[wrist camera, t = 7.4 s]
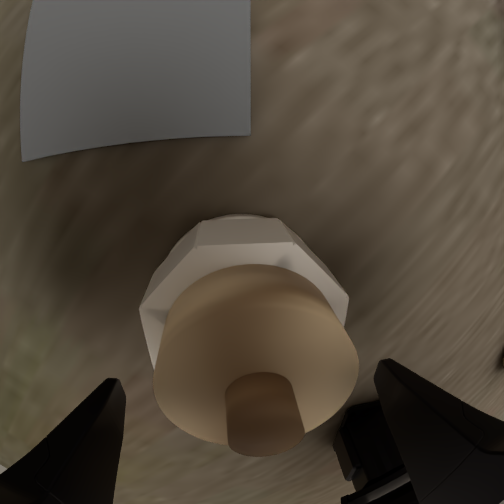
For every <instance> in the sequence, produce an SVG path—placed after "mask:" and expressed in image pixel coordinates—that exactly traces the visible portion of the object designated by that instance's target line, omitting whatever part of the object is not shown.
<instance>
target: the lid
mask: <svg viewBox="0 0 504 504" xmlns="http://www.w3.org/2000/svg"><path fill="white" fill-rule="evenodd" d="M358 373H359V360H358V354H357V351H356V349H355V346H354V344H353V343H352V341H351V339H350V338H349V336H348V334H347V333H346V331H345V329H344V328H343V326H342V324H341V323H340V321H339V319H338V318H337V316H336V314H335V313H334V311H333V309H332V308H331V306H330V304H329V303H328V301H327V299H326V298H325V296H324V295H323V293H322V292H321V291H320V290H319V289H318V288H317V287H316V286H315V285H314V284H313V283H312V282H311V281H309V280H308V279H307V278H305V277H303V276H301V275H300V274H298V273H296V272H293V271H291V270H288V269H286V268H282V267H278V266H273V265H265V264H245V265H236V266H232V267H227V268H223V269H220V270H218V271H215V272H212V273H210V274H208V275H206V276H204V277H202V278H200V279H198V280H197V281H196V282H194V283H193V284H191V285H190V286H189V287H188V288H187V289H185V290H184V291H183V292H182V293H181V294H180V295H179V297H178V298H177V299H176V300H175V302H174V303H173V305H172V307H171V308H170V310H169V312H168V315H167V318H166V321H165V325H164V329H163V334H162V338H161V342H160V347H159V351H158V356H157V361H156V365H155V370H154V376H153V391H154V395H155V399H156V401H157V403H158V405H159V407H160V409H161V410H162V412H163V413H164V415H165V416H166V417H167V418H168V419H169V420H170V421H171V422H172V423H174V424H175V425H176V426H177V427H179V428H180V429H182V430H183V431H185V432H187V433H189V434H191V435H193V436H195V437H197V438H200V439H202V440H205V441H209V442H212V443H217V444H222V445H229V447H230V448H231V449H232V450H234V451H235V452H237V453H239V454H242V455H246V456H254V457H262V456H271V455H276V454H279V453H282V452H285V451H287V450H289V449H291V448H293V447H295V446H296V445H297V444H298V443H300V442H301V440H302V439H303V437H304V435H305V433H307V432H309V431H311V430H313V429H314V428H316V427H318V426H319V425H321V424H322V423H324V422H325V421H327V420H328V419H329V418H331V417H332V416H333V415H334V414H335V413H336V412H337V411H338V410H339V409H340V408H341V407H342V406H343V405H344V403H345V402H346V401H347V399H348V398H349V397H350V395H351V393H352V391H353V389H354V387H355V384H356V382H357V378H358Z"/></svg>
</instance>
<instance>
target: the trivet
mask: <svg viewBox="0 0 504 504" xmlns="http://www.w3.org/2000/svg"><path fill="white" fill-rule="evenodd" d="M20 135H21V154H22V162H25V161H29V160H34V159H38V158H43V157H47V156H52V155H57V154H62V153H67V152H73V151H78V150H84V149H90V148H96V147H103V146H110V145H117V144H125V143H134V142H143V141H152V140H163V139H176V138H191V137H211V136H251V62H250V0H33V2H32V7H31V11H30V16H29V22H28V27H27V33H26V40H25V47H24V55H23V64H22V76H21V95H20Z"/></svg>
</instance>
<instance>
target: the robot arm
mask: <svg viewBox="0 0 504 504" xmlns="http://www.w3.org/2000/svg"><path fill="white" fill-rule="evenodd" d="M374 383H375V386H376V389H377V393H378V396H379V399H380V401H377V402H373V403H369V404H364V405H360V406H356V407H352V408H350V409H348V410H347V412H346V414H345V417H344V420H343V422H342V425H341V428H340V429H339V431H338V433H337V436H336V438H335V441H334V444H333V449H334V451H335V452H336V454H337V457H338V460H339V463H340V466H341V469H342V472H343V475H344V478H345V480H347V481H351V480H352V482H353V485H354V488H355V490H356V492H355V493H352V494H350V495H346V496H343V497H341V504H504V421H501V420H499V419H497V418H495V417H492V416H490V415H488V414H486V413H484V412H482V411H480V410H478V409H476V408H474V407H472V406H470V405H469V404H467V403H465V402H463V401H461V400H460V399H458V398H456V397H455V396H453V395H451V394H450V393H448V392H446V391H445V390H443V389H441V388H439V387H438V386H436V385H434V384H433V383H431V382H429V381H428V380H426V379H424V378H423V377H421V376H419V375H418V374H416V373H414V372H412V371H411V370H409V369H407V368H406V367H404V366H402V365H401V364H399V363H398V362H396V361H394V360H393V359H390V358H388V359H383V360H380V361H379V363H378V366H377V369H376V372H375V375H374ZM125 406H126V395H125V392H124V390H123V387H122V385H121V382H120V380H119V379H117V378H107V379H105V380H104V381H103V382H102V383H101V384H100V385H99V386H98V387H97V388H96V389H95V390H94V391H93V392H92V393H91V394H90V395H89V396H88V397H87V398H86V399H85V400H83V401H82V402H81V403H80V404H79V405H78V406H77V407H76V408H75V409H74V410H73V411H72V412H71V413H70V414H69V415H68V416H67V417H66V418H65V419H64V420H63V421H62V422H61V423H60V424H59V425H57V426H56V427H55V428H54V429H53V430H52V431H51V432H50V433H49V434H48V435H47V438H46V437H45V438H44V439H43V440H42V441H41V442H40V443H39V444H38V445H37V446H35V447H34V448H33V449H32V450H31V451H30V452H29V453H27V454H26V455H25V456H24V457H23V458H21V459H20V460H19V461H17V462H16V463H15V464H13V465H12V466H11V467H9V468H8V469H7V470H6V471H4V472H3V473H2V474H0V504H113V498H114V490H115V483H116V477H117V470H118V464H119V458H120V452H121V447H122V441H123V432H124V418H125Z"/></svg>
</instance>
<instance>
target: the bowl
mask: <svg viewBox="0 0 504 504" xmlns="http://www.w3.org/2000/svg"><path fill="white" fill-rule="evenodd" d="M245 264H265V265H273V266H278V267H282V268H286V269H288V270H291V271H293V272H296V273H298V274H300V275H301V276H303V277H305V278H307V279H308V280H309V281H311V282H312V283H313V284H314V285H315V286H316V287H317V288H318V289H319V290H320V291H321V292H322V293H323V295H324V296H325V298H326V299H327V301H328V303H329V304H330V306H331V308H332V309H333V311H334V313H335V314H336V316H337V318H338V319H339V321H340V323H341V324H342V326H343V328H344V325H345V319H346V314H347V308H348V302H349V297H348V295H347V293H346V292H345V290H344V289H343V288H342V286H341V285H340V284H339V282H338V281H337V280H336V278H335V277H334V276H333V274H332V273H331V272H330V270H329V269H328V268H327V266H326V265H325V264H324V263H323V262H322V261H321V260H320V259H319V258H318V257H317V256H316V255H315V254H314V253H313V252H312V251H311V250H310V249H309V248H308V247H307V245H306V244H305V243H304V242H303V241H302V239H301V238H300V237H299V236H298V235H297V234H296V233H294V232H293V231H292V230H291V229H289V228H288V227H287V226H286V225H285V224H284V223H283V222H282V221H281V220H280V219H279V220H278V218H267V217H263V216H259V215H253V214H230V215H224V216H220V217H215V218H213V219H210V220H203V221H202V222H199V223H198V224H197V225H196V226H195V227H194V228H193V229H191V230H190V231H188V232H187V233H186V234H185V235H184V236H183V237H182V238H180V239H179V240H178V242H177V243H176V244H175V245H174V247H173V248H172V249H171V251H170V253H169V255H168V256H167V258H166V259H165V260H164V261H163V262H162V264H161V265H160V266H159V267H158V268H157V269H156V270H155V272H154V273H153V276H152V278H151V280H150V283H149V285H148V287H147V290H146V292H145V295H144V297H143V299H142V302H141V304H140V308H139V312H140V317H141V321H142V326H143V330H144V334H145V338H146V342H147V346H148V350H149V354H150V357H151V361H152V365H153V368H154V370H155V365H156V361H157V356H158V351H159V347H160V342H161V338H162V334H163V329H164V325H165V321H166V318H167V315H168V312H169V310H170V308H171V307H172V305H173V303H174V302H175V300H176V299H177V298H178V297H179V295H180V294H181V293H182V292H183V291H184V290H185V289H187V288H188V287H189V286H190V285H191V284H193V283H194V282H196V281H197V280H198V279H200V278H202V277H204V276H206V275H208V274H210V273H212V272H215V271H218V270H220V269H223V268H227V267H232V266H236V265H245Z"/></svg>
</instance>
